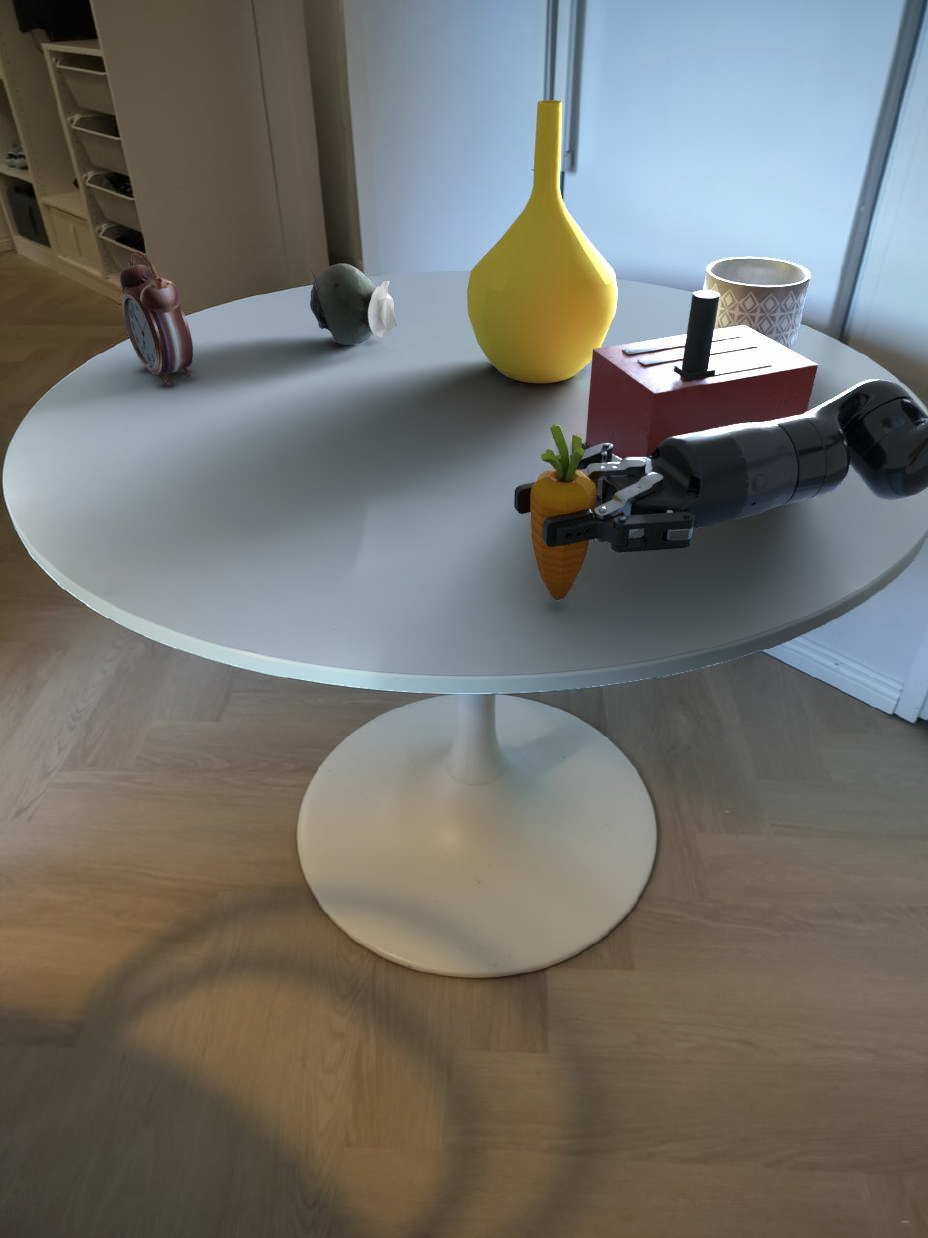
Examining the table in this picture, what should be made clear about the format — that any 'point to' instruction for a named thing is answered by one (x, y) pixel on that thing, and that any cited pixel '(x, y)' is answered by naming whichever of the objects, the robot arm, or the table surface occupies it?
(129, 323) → the alarm clock
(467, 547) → the table surface
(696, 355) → the slider
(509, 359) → the vase
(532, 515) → the carrot
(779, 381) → the knife block
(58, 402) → the table surface
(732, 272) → the planter
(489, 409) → the table surface
